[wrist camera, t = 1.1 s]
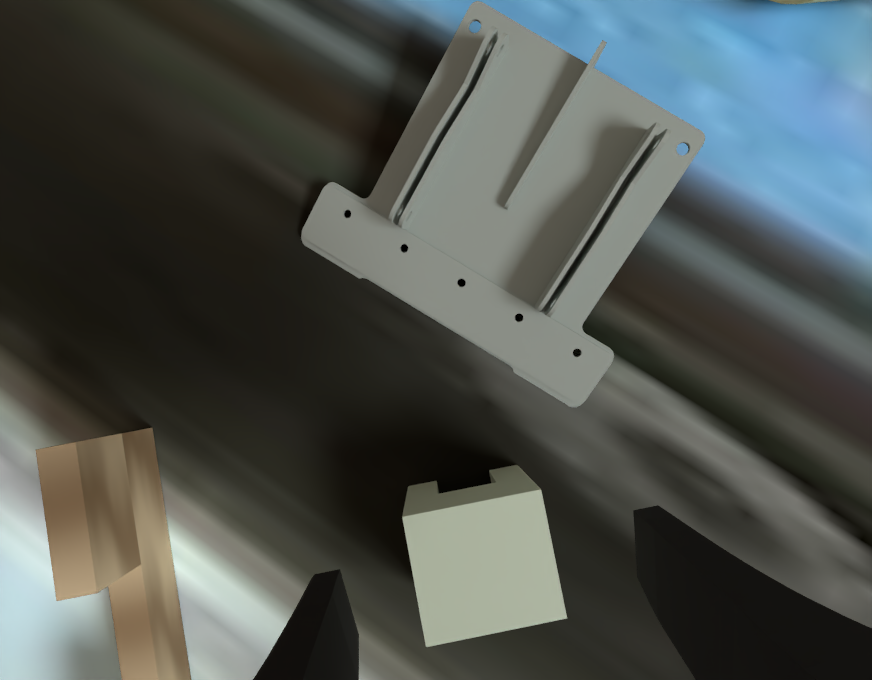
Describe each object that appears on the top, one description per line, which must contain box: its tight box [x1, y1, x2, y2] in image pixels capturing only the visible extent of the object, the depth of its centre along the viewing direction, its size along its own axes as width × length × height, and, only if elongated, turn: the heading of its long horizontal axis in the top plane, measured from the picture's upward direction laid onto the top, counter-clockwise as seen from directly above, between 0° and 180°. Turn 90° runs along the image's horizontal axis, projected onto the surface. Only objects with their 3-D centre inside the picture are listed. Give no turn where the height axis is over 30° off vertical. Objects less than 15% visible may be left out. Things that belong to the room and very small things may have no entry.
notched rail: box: [36, 428, 191, 680], centre depth 20 cm, size 16×1×5 cm, turn 11°
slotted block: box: [402, 465, 567, 647], centre depth 20 cm, size 4×5×5 cm
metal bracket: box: [301, 1, 705, 407], centre depth 23 cm, size 14×6×15 cm
